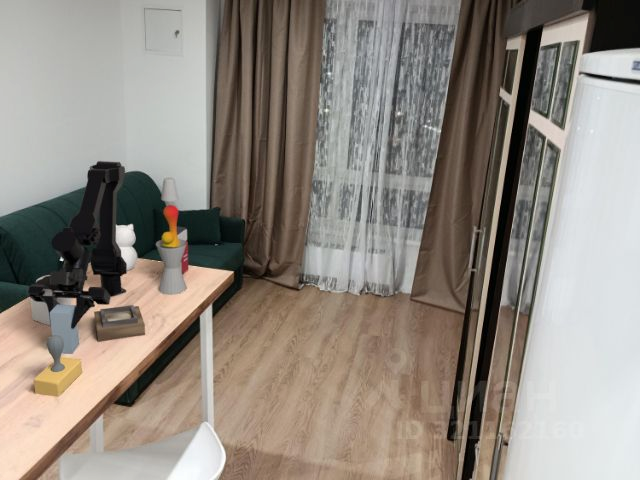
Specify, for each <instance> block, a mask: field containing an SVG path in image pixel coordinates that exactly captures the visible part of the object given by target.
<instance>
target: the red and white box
mask: <svg viewBox="0 0 640 480" xmlns="http://www.w3.org/2000/svg"><path fill="white" fill-rule="evenodd" d="M168 232H170V230H169V231H168ZM177 237H178V239H182V240H184V241H186V243H187V244H186V247H185V250H184V253H183V256H182V259H181V262H180V265H179V267H180V270H181V272H182V275H183V274H184V273H186V272H187V271H188V270H189V244H188V243H189V242H188V229H187V227H184V226H177ZM164 268H165V266H164Z"/></svg>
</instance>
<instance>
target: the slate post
mask: <svg viewBox="0 0 640 480" xmlns="http://www.w3.org/2000/svg"><path fill="white" fill-rule="evenodd" d="M75 308H76V304H71V305H59V304H57V305H56V306H55V307H54V308H53V309H52V311H51V312H50V322H51V326H50V329H51V330H50V331H51V336H52V335H58V336H60V337H61V338H62V339H63V342H64V347H63V351H62V354H64V355H65V354H69V355H72V354H74V352H75V351H76V350H77V349H78V347H79V346H80V336H79V328H78V327H79V326H78V324H77V325H76V326H75V328H74V329H72V328H71V323H72V318H73V315H74V311H75Z"/></svg>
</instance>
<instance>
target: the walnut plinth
mask: <svg viewBox="0 0 640 480" xmlns="http://www.w3.org/2000/svg"><path fill="white" fill-rule="evenodd" d="M93 313H94V315H93V316H94V323H95V324H94V325H95V328H96V329H95V330H96V334H97V342H98V343H99V342H105V341H113V340H118V339H119V340H120V339H126V338H133V337H139V336H146V324H145V321H144V318H143V315H142V313H141V309H140V306H139V305H133V304H130V305H123V306H115V307H107V308H106V307H105V308H100V310H94V312H93Z"/></svg>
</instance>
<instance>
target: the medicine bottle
mask: <svg viewBox="0 0 640 480" xmlns="http://www.w3.org/2000/svg"><path fill="white" fill-rule="evenodd" d="M50 278H51V274H48V275H43V276H41V277H39V278H37V279H36V281H35V284H39V285H46V286H47V287H48V288H49V289H50V290H58V288H56V287H55V286H54V285H50ZM29 301H30V307H31V308H30V309H31V316H32V317H31V318H32V321H34V320H35V321H34V322H37V321H38V323H40V322H41V324H43V323H44V325H46V324H47V326H49V325H50V318H49V311H48V307H47V304H46V303H45V302H36V301H34V300H33V299H32V298H30V297H29ZM57 302H59V303H60V305H72V304H71V298H58V299H57Z"/></svg>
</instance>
